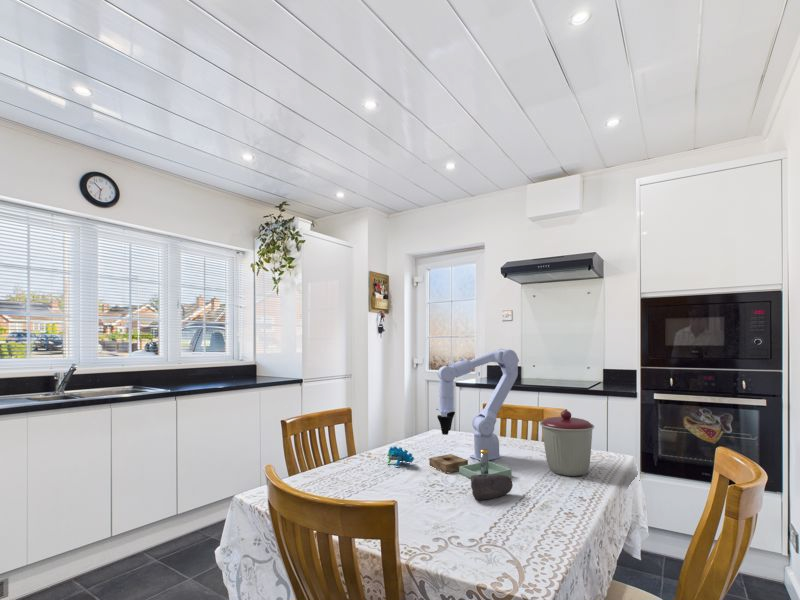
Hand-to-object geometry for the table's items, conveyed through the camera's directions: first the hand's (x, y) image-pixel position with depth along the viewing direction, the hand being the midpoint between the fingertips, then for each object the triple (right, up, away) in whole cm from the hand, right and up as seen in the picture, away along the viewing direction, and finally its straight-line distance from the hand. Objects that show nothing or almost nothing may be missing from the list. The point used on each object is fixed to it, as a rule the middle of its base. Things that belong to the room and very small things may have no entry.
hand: (446, 432), depth 170 cm
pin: (+11, -8, -20) cm, 24 cm away
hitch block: (0, -10, -11) cm, 14 cm away
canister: (+41, -9, -17) cm, 45 cm away
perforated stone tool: (+9, -8, -40) cm, 42 cm away
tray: (+11, -9, -20) cm, 25 cm away
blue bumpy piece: (-18, -10, -7) cm, 22 cm away
